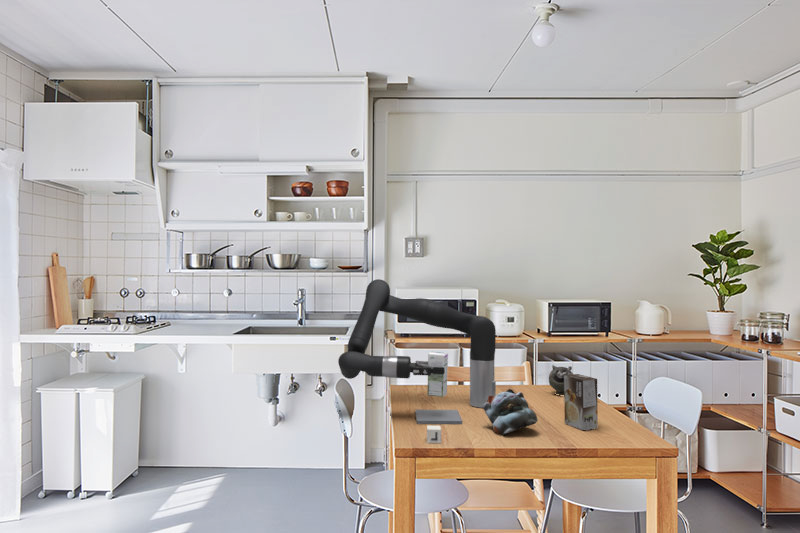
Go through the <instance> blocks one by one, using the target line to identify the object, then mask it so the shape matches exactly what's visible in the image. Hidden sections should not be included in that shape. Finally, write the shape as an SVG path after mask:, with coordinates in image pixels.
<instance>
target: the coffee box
mask: <svg viewBox="0 0 800 533" xmlns="http://www.w3.org/2000/svg"><path fill="white" fill-rule="evenodd" d="M563 399H564V400H563V402H564V405H563V406H564V407H563V408H564V410H563V411H564V424H565V423H566V424H565V425H567V424H568V425H567V426H570V425H571V426H570V427H573V428H575V427H576V429H578V430H581V431H583V430H586V431H590V429H592V430H595V429H594V428H599V426H598V420H599V418H598V411H599V410H598V378H596V377H595V378H594V377H592V376H587V375H583V374H578V373H573V374H572V375H564V397H563Z"/></svg>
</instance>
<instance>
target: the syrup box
mask: <svg viewBox="0 0 800 533" xmlns="http://www.w3.org/2000/svg"><path fill="white" fill-rule="evenodd" d="M427 358H428V359H427V361H428V366H432V367H433V368H434V367H444V368H445V372H444V374H432V375H430V376H428V375H427V393H426V395H427V396H430V397H439V398H443V397H445V396H447V394H448V363H449V361H448V358H449V353H448V352H446V351H445V352H443V351H430V352H429V353H428V355H427Z"/></svg>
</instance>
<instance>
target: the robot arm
mask: <svg viewBox="0 0 800 533" xmlns="http://www.w3.org/2000/svg"><path fill="white" fill-rule="evenodd" d="M379 312H382V313H388V314H393V315H397V316H401V317H403V318H408V319H410V320H414V321H416V322H417V321H418V322H419V323H423V324H426V325H429V326H431V327H436V328H443V329H447V330H448V329H451V330H456V331H458V332H461V333H464V334H466V335H468V336H470V352H469V405H470V406H471V407H475V408H480V409H481V408H483V404H485V402H487V400H488V396H491V395H492V396H496V395H497V393H496V389H497V388H496V387H497V386H496V385H497V384H496V380H495V359H496V358H495V355H496V341H497V340H496V339H497V338H496V336H497V335H496V325H495V324H494V322H493V321H492V320H491V319H490V318H488V317H486V316H481V315H476V314H471V313H467V312H463V311H459V310H457V309H455V308H453V307H450V306H448V305H446V304H443V303H440V302H438V301H434V300H431V299H428V298H421V297H418V298H417V297H416V298H408V299H407V298H402V297H401V298H400V297H397V296H393V295H391V288H390V285H389V284H388V282H386V281H385V280H383V279H374V280H371V281H370V282H369V284H368V285H367V286H366V291H365V299H364V303H363V306H362V308H361V311H360V314H359V316H358V318H357V320H356V322H355V325H354V327H353V330H352V331H351V334H350V337H349V339H348V343H347V351H345V352H343V353H341V354H340V356H339V357H338V361H337V362H338V366H339V369H340V372H341V375H342V376H343V377H344V378H345V379H350V380H351V379H355V378H356V377H357V376H359V374H360V373H361V372H365V374H367V375H368V376H370V377H377V378H378V377H380V378H383V377H384V378H389V379H410V377H411V373H412V375H413V376H427V377H428V376H430V375H432V374H444V372H445V368H444V367H434V368H433V367H432V366H428V360H427V361H426V360H425V361H424V360H416V361H415V362H412V361H411V356H408V355H371V354H366V351H367V349H368V346H369V343H370V341H371V339H372V335H373V332H374V329H375V325H376V321H377V318H378V315H379Z"/></svg>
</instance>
